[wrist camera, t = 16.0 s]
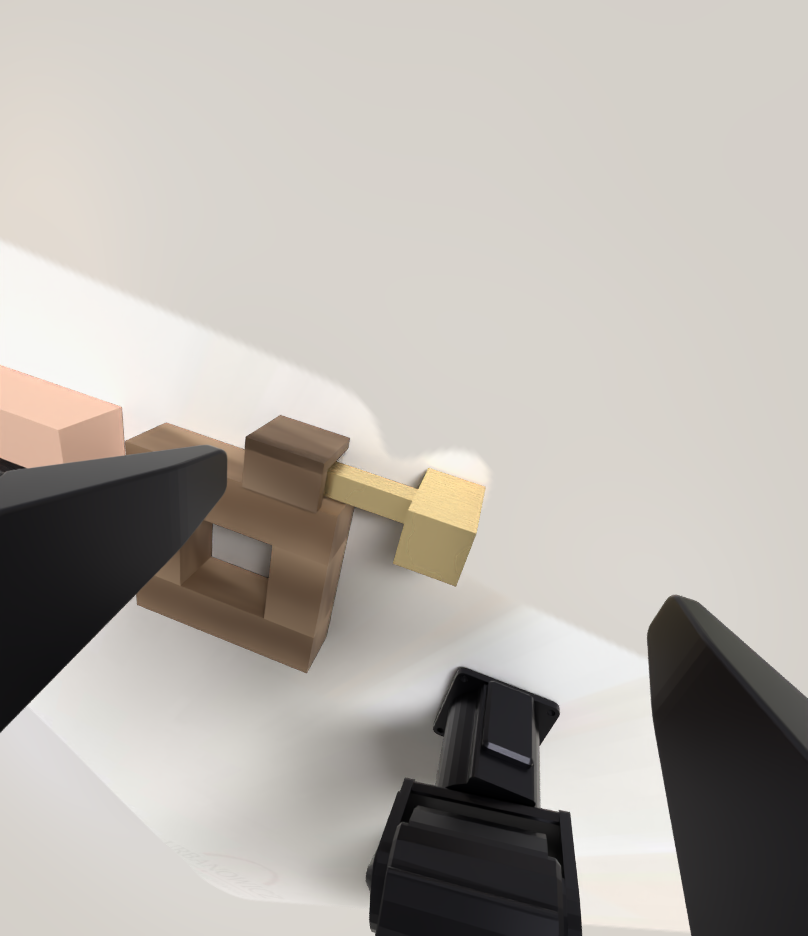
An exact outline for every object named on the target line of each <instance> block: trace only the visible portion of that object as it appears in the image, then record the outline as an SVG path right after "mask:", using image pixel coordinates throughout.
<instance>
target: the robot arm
mask: <svg viewBox="0 0 808 936" xmlns="http://www.w3.org/2000/svg"><path fill="white" fill-rule="evenodd" d="M227 466H228V457H227V453H226V452H225V451H224V450H223V449H220V448H217V447H214V446H211V445H199V446H191V447H184V448H176V449H169V450H161V451H153V452H146V453H138V454H131V455H123V456H116V457H108V458H101V459H93V460H86V461H78V462H71V463H63V464H56V465H48V466H41V467H33V468H26V469H18V470H11V471H6V472H5V473H3V472H0V733H1V732H2V731H3V729H4V728H5V727H6V726H7V725H8V724H9V723H10V722H11V721H12V720H13V719H14V718H15V717H16V716H17V715H18V714H19V713H20V712H21V711H22V710H23V709H24V708H25V707H26V706H27V705H28V704H29V703H30V702H31V701H32V700H33V699H34V698H35V697H36V696H37V695H38V694H39V693H40V692H41V691H42V690H43V689H44V688H45V687H46V686H47V685H48V684H49V683H50V682H51V681H52V680H53V678H54V677H55V676H56V675H57V674H58V673H59V672H60V671H61V670H62V669H63V668H64V667H65V666H66V665H67V664H68V663H69V662H70V661H71V660H72V659H73V658H74V657H75V656H76V655H77V654H78V653H79V652H80V651H81V650H82V649H83V648H84V647H85V646H86V645H87V644H88V643H89V642H90V641H91V640H92V639H93V638H94V637H95V636H96V635H97V634H98V633H99V632H100V631H101V630H102V629H103V627H104V626H105V625H106V624H107V623H108V622H109V621H110V620H111V619H112V618H113V617H114V616H115V615H116V614H117V613H118V612H119V611H120V610H121V609H122V608H123V607H124V606H125V605H126V604H127V603H128V602H129V601H130V600H131V599H132V598H133V597H134V596H135V595H136V594H137V593H138V592H139V591H140V590H141V589H142V588H143V587H144V586H145V585H146V584H147V583H148V582H149V581H150V580H151V579H152V578H153V576H154V575H155V574H156V573H157V572H158V571H159V570H160V569H161V568H162V567H163V566H164V565H165V564H166V563H167V562H168V561H169V560H170V559H171V558H172V557H173V556H174V555H175V554H176V553H177V552H178V551H179V550H180V549H181V547H182V546H183V545H184V544H185V543H186V542H187V540H188V539H189V538H190V537H191V535H192V534H193V533H194V532H195V530H196V529H197V528H198V526H199V525H200V524H201V523H202V521H203V520H204V519H205V518H206V516H207V515H208V514H209V513H210V511H211V510H212V509H213V507H214V506H215V505H216V504H217V502H218V501H219V500H220V499H221V497H222V496H223V495H224V493H225V490H226V487H227ZM647 646H648V662H649V678H650V694H651V707H652V717H653V723H654V730H655V736H656V741H657V747H658V752H659V758H660V763H661V769H662V775H663V780H664V786H665V791H666V797H667V802H668V808H669V814H670V819H671V825H672V830H673V836H674V841H675V847H676V853H677V858H678V864H679V869H680V875H681V880H682V886H683V891H684V897H685V903H686V908H687V914H688V919H689V925H690V930H691V936H808V698H807V697H805V696H804V695H803V694H802V693H801V692H800V691H799V690H798V689H797V688H795V687H794V686H793V685H792V684H791V683H789V681H787V680H786V679H785V678H784V677H783V676H782V675H780V673H778V672H777V671H776V670H775V669H774V668H773V667H772V666H770V665H769V664H768V663H767V662H766V661H765V660H763V659H762V658H761V657H760V656H759V655H758V654H757V653H756V652H754V651H753V650H752V649H751V648H750V647H749V646H748V645H746V644H745V643H744V642H743V641H742V640H741V639H740V638H739V637H738V636H736V635H735V634H734V633H733V632H732V631H731V630H729V629H728V628H727V627H726V626H725V625H724V624H723V623H722V622H720V621H719V620H718V619H717V618H716V617H715V616H714V615H712V614H711V613H710V612H709V611H708V610H707V609H706V608H705V607H703V606H702V605H701V604H700V603H699V602H697V601H694V600H692V599H688V598H686V597H682V596H679V595H672V596H670V597H669V598H668V599H667V600H666V601H665V603H664V604H663V606H662V607H661V609H660V611H659V612H658V613H657V615H656V616H655V618H654V619H653V621H652V623H651V624H650V626H649V629H648V633H647ZM464 676H465V677H464ZM559 715H560V708H559V705H558V704H557V703H555V702H552V701H550V700H547V699H545V698H542V697H539V696H537V695H534V694H532V693H529V692H526V691H524V690H521V689H519V688H516V687H514V686H511V685H508V684H506V683H503V682H501V681H498V680H495V679H493V678H490V677H488V676H485V675H482V674H480V673H477V672H475V671H472V670H469V669H467V668H460V669H458V671H457V673H456V675H455V677H454V679H453V682H452V684H451V686H450V688H449V691H448V693H447V695H446V697H445V700H444V702H443V704H442V707H441V709H440V711H439V713H438V716H437V718H436V720H435V723H434V727H433V730H434V732H435V733H436V734H438V735H441V736H443V737H444V739H443V745H442V750H441V756H440V761H439V767H438V772H437V778H436V783H435V786H434V785H429V784H424V783H419V782H415V779H410V778H405V779H404V782H403V785H402V788H401V790H400V792H399V791H398V793H397V796H396V799H395V801H394V804H393V807H392V810H391V812H390V815H389V818H388V821H387V824H386V826H385V829H384V832H383V835H382V837H381V840H380V843H379V846H378V849H377V851H376V853H375V855H374V856H373V858H372V860H371V862H370V864H369V866H368V868H367V872H366V883H367V886H368V888H369V890H370V912H369V914H370V915H369V922H370V929H371V931H372V932H375V933H376V934H375V936H582V925H581V910H580V898H579V888H578V879H577V870H576V861H575V852H574V843H573V834H572V825H571V817H570V812H567V811H562V810H559V812H557V811H552V810H547V809H542V808H540V752H539V746H540V745H541V743H542V742H543V740H544V738H545V737H546V735H547V734H548V732H549V731H550V729H551V728H552V726H553V725H554V723H555V722H556V720H557V719H558V717H559Z"/></svg>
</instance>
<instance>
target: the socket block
mask: <svg viewBox="0 0 808 936" xmlns="http://www.w3.org/2000/svg"><path fill="white" fill-rule="evenodd" d="M349 441H350V438H348V437H345V436H342V435H339V434H336V433H333V432H330V431H327V430H324V429H321V428H318V427H315V426H312V425H309V424H306V423H303V422H300V421H297V420H294V419H291V418H288V417H285V416H282V415H280V416H278V417H276V418H275V419H273V420H272V421H270V422H269V423H267V424H265V425H264V426H262V427H261V428H259V429H257V430H256V431H254V432H253V433H251V434H249V435H248V436H246V439H245V450H244V449H241V448H238V447H235V446H232V445H230V444H227V443H224V442H221V441H218V440H215V439H212V438H209V437H206V436H204V435H201V434H198V433H195V432H192V431H189V430H186V429H183V428H180V427H178V426H175V425H172V424H169V423H164V424H162V425H160V426H157V427H155V428H153V429H151V430H149V431H146V432H144V433H142V434H140V435H138V436H135V437H133V438H131V439H129V440H126V441H125V449H126V455H131V454H138V453H146V452H153V451H161V450H169V449H176V448H184V447H191V446H199V445H211V446H214V447H217V448H220V449H223V450H224V451H225V452H226V453H227V457H228V466H227V487H226V490H225V493H224V495H223V496H222V497H221V499H220V500H219V501H218V502H217V504H216V505H215V506H214V507H213V509H212V510H211V511H210V513H209V514H208V515H207V516H206V518H205V519H204V520H203V521H202V523H201V524H200V525H199V526H198V528H197V529H196V530H195V532H194V533H193V534H192V535H191V537H190V538H189V539H188V540H187V542H186V543H185V544H184V545H183V546H182V547H181V549H180V550H179V551H178V552H177V553H176V554H175V555H174V556H173V557H172V558H171V559H170V560H169V561H168V562H167V563H166V564H165V565H164V566H163V567H162V568H161V569H160V570H159V571H158V572H157V573H156V574H155V575H154V576H153V578H152V579H151V580H150V581H149V582H148V583H147V584H146V585H145V586H144V587H143V588H142V589H141V590H140V591H139V592H138V593H137V594H136V597H137V605H139V606H142V607H144V608H146V609H149V610H151V611H154V612H156V613H159V614H161V615H164V616H166V617H169V618H171V619H174V620H176V621H179V622H181V623H184V624H186V625H188V626H191V627H193V628H196V629H198V630H201V631H203V632H206V633H208V634H211V635H213V636H216V637H218V638H221V639H223V640H226V641H228V642H230V643H233V644H235V645H238V646H240V647H243V648H245V649H248V650H250V651H253V652H255V653H258V654H260V655H263V656H265V657H267V658H270V659H272V660H275V661H277V662H280V663H282V664H285V665H287V666H290V667H292V668H295V669H297V670H300V671H302V672H305V673H307V672H308V670H309V668H310V666H311V665H312V663H313V661H314V659H315V657H316V655H317V653H318V652H319V650H320V648H321V646H322V644H323V642H324V640H325V639H326V636H327V632H328V627H329V622H330V618H331V613H332V608H333V604H334V599H335V595H336V590H337V585H338V581H339V576H340V571H341V567H342V562H343V557H344V553H345V548H346V544H347V539H348V534H349V530H350V525H351V520H352V516H353V511H354V506H352V505H349V504H346V503H343V502H340V501H338V500H335V499H332V498H329V497H326V496H323V494H324V488H325V482H326V476H327V471H328V469H329V468H330V467H331V466H332V465H333V463H334V462H335V461H336V460H337V459H338V458H339V457H340V456H341V455H342V454H343V453H344V452H345V451H346V450H347V449H348V446H349ZM212 524H216V525H219V526H221V527H224V528H227V529H230V530H232V531H235V532H238V533H240V534H243V535H246V536H248V537H251V538H254V539H256V540H259V541H262V542H265V543H267V544H270V545H272V553H271V562H270V570H269V578H266V577H263V576H261V575H258V574H256V573H253V572H250V571H248V570H245V569H242V568H240V567H237V566H235V565H232V564H229V563H227V562H224V561H222V560H219V559H216V558H214V557H211V554H212Z"/></svg>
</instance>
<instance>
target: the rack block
mask: <svg viewBox="0 0 808 936" xmlns="http://www.w3.org/2000/svg"><path fill="white" fill-rule="evenodd" d="M123 455H125V448H124V435H123V422H122V408H121V407H120V406H117V405H114V404H111V403H108V402H105V401H102V400H100V399H97V398H94V397H91V396H88V395H85V394H82V393H79V392H76V391H73V390H71V389H68V388H65V387H62V386H59V385H56V384H53V383H50V382H47V381H45V380H42V379H39V378H36V377H33V376H30V375H27V374H24V373H21V372H19V371H16V370H13V369H10V368H7V367H4V366H1V365H0V458H2V459H4V460H7V461H10V462H12V463H15V464H18V465H20V466H23V467H26V468H33V467H41V466H48V465H56V464H63V463H71V462H78V461H86V460H93V459H101V458H108V457H116V456H123Z"/></svg>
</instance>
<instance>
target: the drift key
mask: <svg viewBox="0 0 808 936" xmlns="http://www.w3.org/2000/svg"><path fill="white" fill-rule="evenodd" d="M484 492H485V487H484V486H481V485H478V484H475V483H472V482H469V481H466V480H463V479H460V478H457V477H454V476H451V475H448V474H445V473H442V472H439V471H436V470H433V469H430V468H428V470H427V472H426V474H425V476H424V478H423V481H422V483H421V485H420V487H419V489H416V488H413V487H410V486H407V485H404V484H401V483H398V482H395V481H392V480H389V479H386V478H383V477H380V476H378V475H375V474H372V473H369V472H366V471H363V470H360V469H357V468H354V467H351V466H348V465H345V464H342V463H339V462H336V461H335V462H334V463H333V465H332V466H331V467H330V468H329V469H328V471H327V476H326V482H325V488H324V494H323V496H326V497H329V498H332V499H335V500H338V501H340V502H343V503H346V504H349V505H352V506H355V507H358V508H360V509H363V510H366V511H369V512H372V513H375V514H377V515H380V516H383V517H386V518H389V519H392V520H395V521H397V522H400V523H403V524H404V526H403V530H402V533H401V537H400V540H399V544H398V547H397V551H396V554H395V558H394V561H393V564H395V565H398V566H401V567H404V568H406V569H409V570H412V571H415V572H417V573H420V574H423V575H426V576H428V577H431V578H434V579H437V580H439V581H442V582H445V583H448V584H450V585H453V586H456V585H457V582H458V580H459V577H460V575H461V572H462V570H463V567H464V564H465V562H466V559H467V557H468V554H469V551H470V549H471V546H472V543H473V541H474V538H475V536H476V533H477V528H478V522H479V518H480V513H481V508H482V503H483V498H484Z"/></svg>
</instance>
